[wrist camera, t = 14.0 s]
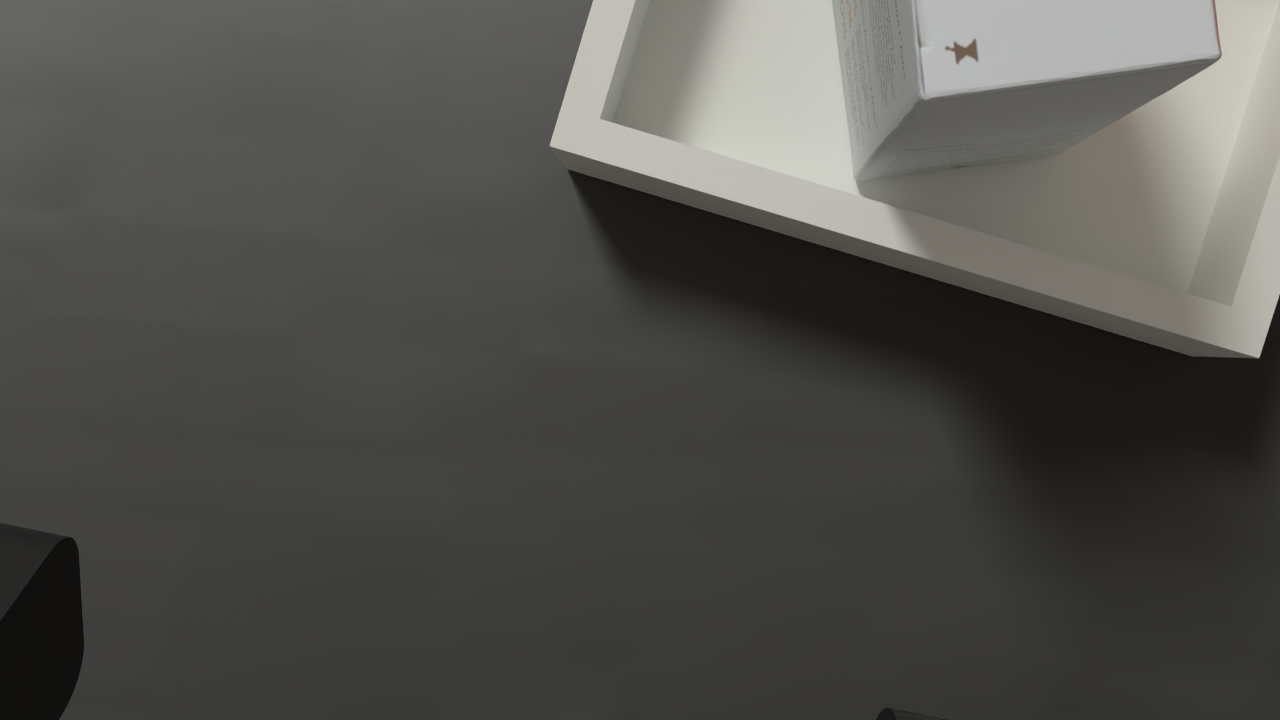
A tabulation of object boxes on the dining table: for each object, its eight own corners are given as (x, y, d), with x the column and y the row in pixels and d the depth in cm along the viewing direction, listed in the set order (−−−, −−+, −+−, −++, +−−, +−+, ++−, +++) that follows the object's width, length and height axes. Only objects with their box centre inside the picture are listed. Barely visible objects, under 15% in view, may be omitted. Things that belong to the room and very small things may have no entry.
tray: (566, 169, 34) (549, 145, 30) (702, -281, 34) (703, -366, 30) (1191, 356, 33) (1259, 358, 29) (1337, -102, 33) (1425, -163, 29)
